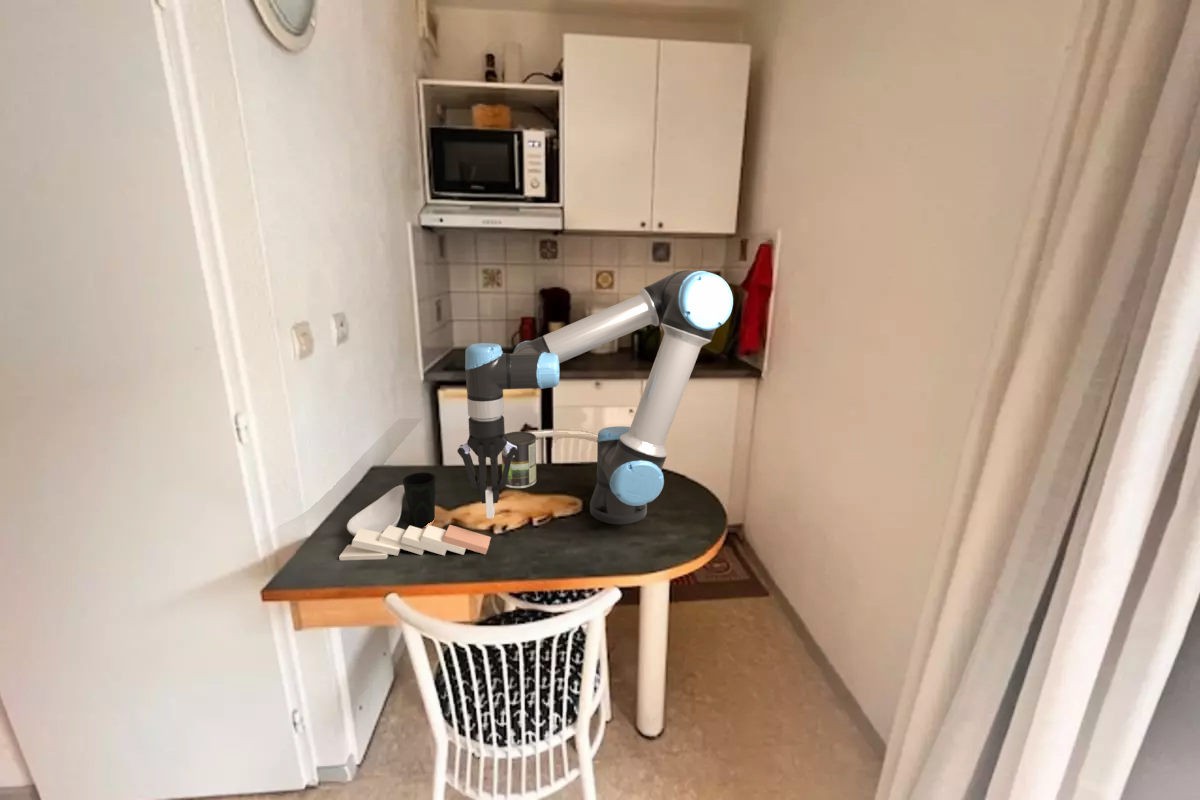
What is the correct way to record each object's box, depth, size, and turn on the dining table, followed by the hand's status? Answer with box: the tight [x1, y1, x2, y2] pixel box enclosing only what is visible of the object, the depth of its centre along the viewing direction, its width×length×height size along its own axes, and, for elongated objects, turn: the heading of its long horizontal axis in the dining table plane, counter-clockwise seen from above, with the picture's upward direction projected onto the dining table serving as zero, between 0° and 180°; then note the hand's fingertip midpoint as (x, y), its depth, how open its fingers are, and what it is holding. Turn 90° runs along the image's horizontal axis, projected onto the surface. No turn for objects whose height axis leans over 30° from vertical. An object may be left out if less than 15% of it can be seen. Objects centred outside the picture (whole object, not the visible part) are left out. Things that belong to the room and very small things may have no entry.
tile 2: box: [401, 525, 448, 556], centre depth 119 cm, size 2×5×10 cm
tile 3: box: [379, 525, 426, 556], centre depth 119 cm, size 2×5×10 cm
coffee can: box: [501, 431, 537, 489], centre depth 155 cm, size 10×10×14 cm
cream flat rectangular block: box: [339, 544, 390, 561], centre depth 118 cm, size 2×5×10 cm
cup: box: [402, 471, 437, 529], centre depth 130 cm, size 8×8×12 cm
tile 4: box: [350, 528, 401, 557], centre depth 118 cm, size 2×5×10 cm
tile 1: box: [420, 525, 467, 556], centre depth 119 cm, size 2×5×10 cm
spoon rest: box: [346, 484, 405, 537], centre depth 131 cm, size 24×12×7 cm, turn 168°
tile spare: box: [443, 524, 492, 556], centre depth 120 cm, size 2×5×10 cm
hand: (490, 515), depth 118 cm, fingers closed
